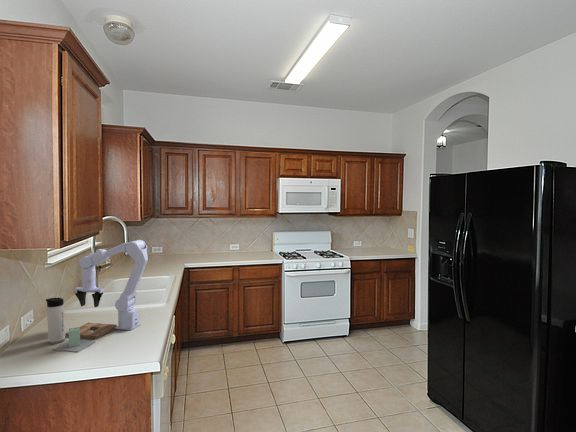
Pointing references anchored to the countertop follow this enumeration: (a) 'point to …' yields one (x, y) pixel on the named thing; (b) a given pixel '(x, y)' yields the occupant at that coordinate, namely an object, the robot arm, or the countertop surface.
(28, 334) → the countertop surface
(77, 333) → the green block
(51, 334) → the travel mug
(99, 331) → the pocket tray
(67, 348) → the rubber mat
